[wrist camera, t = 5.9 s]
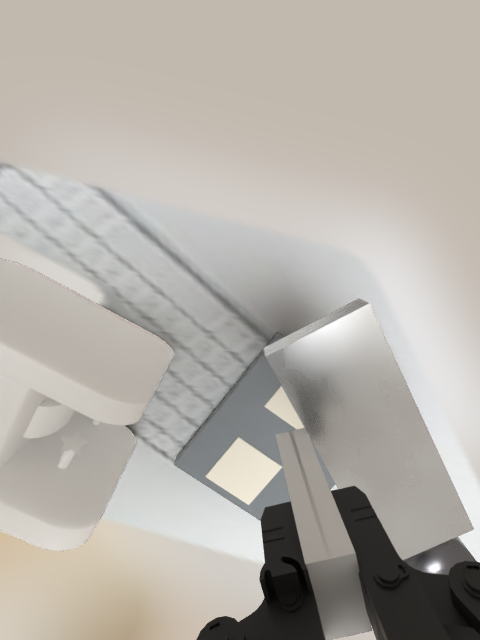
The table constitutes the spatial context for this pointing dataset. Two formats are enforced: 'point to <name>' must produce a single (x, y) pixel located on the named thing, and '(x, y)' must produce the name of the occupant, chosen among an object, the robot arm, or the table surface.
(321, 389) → the grey lever handle
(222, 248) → the table surface
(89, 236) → the table surface
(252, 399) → the label board
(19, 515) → the cable organizer
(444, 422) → the table surface
